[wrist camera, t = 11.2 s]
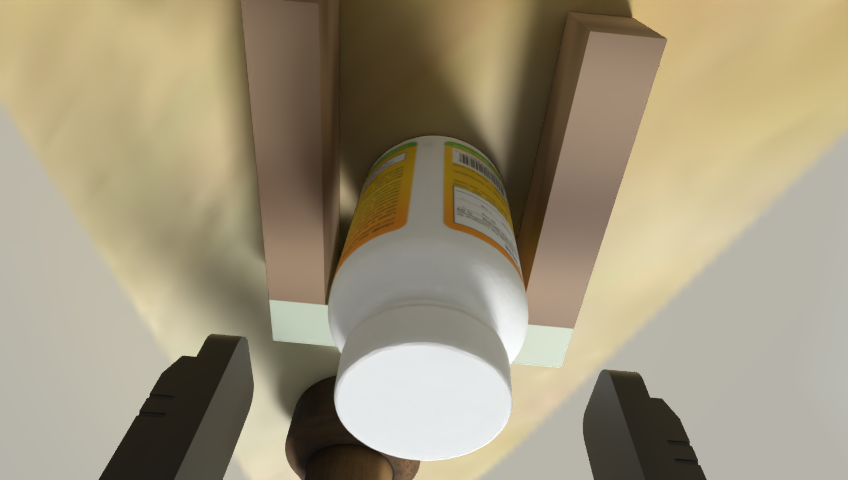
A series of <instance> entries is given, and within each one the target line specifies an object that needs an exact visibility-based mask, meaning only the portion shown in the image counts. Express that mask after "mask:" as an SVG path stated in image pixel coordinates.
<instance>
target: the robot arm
mask: <svg viewBox="0 0 848 480" xmlns="http://www.w3.org/2000/svg"><path fill="white" fill-rule="evenodd" d="M253 389H254V382H253V375H252V368H251V361H250V354H249V347H248V341H247V339H246V337H241V336H229V335H218V334H211V335H209V336H208V337H207V339H206V340H205V342H204V344H203V346H202V348H201V349H200V351H199V353H198V355H197V357H191V356H182V357H180V358H179V359H178V360H177V361H176V362H175V363H173V364H172V365H171V366H170V367H169V368H168V369H167V370H165V371H164V372H163V373H162V374H161V376H160V378H159V380H158V381H157V383H156V384H155V386H154V388H153V389H152V391H151V393H150V397H149V398H147V399H146V401H145V403H144V404H143V406H142V408H141V409H140V413H139V415H138V416H136V418H135V419H134V421H133V423H132V425H131V426H130V428H129V430H128V431H127V433H126V435H125V436H124V438H123V440H122V442H121V443H120V445H119V446H118V448H117V450H116V451H115V453H114V455H113V456H112V458H111V460H110V461H109V463H108V465H107V466H106V468H105V470H104V471H103V473H102V475H101V477H100V478H99V480H223V477H224V475H225V472H226V470H227V467H228V464H229V462H230V459H231V457H232V454H233V451H234V449H235V446H236V444H237V441H238V438H239V436H240V433H241V431H242V428H243V425H244V423H245V420H246V418H247V415H248V412H249V410H250V406H251V403H252V398H253ZM583 435H584V441H585V445H586V449H587V453H588V457H589V461H590V465H591V469H592V473H593V477H594V480H706V478H705V475H704V473H703V470H702V468H701V466H700V465H698V459H697V457H696V455H695V452H694V450H693V448H692V446H690V441H689V439H688V437H687V434H686V432H685V430H684V427H683V425H682V423H681V421H680V419H679V418H678V416H677V415H676V414H675V413H674V412H673V411H672V410H671V409H670V407H669V406H668V405H667V404H666V403H665V402H664V401H663V400H662V399H659V398H650V396H649V394H648V391H647V389H646V386H645V384H644V381H643V379H642V377H641V376H640V374H639V373H637V372H627V371H615V370H602V371H601V373H600V374H599V377H598V380H597V382H596V385H595V387H594V390H593V392H592V395H591V397H590V400H589V403H588V405H587V408H586V410H585V413H584V419H583Z"/></svg>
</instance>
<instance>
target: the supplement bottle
mask: <svg viewBox="0 0 848 480" xmlns="http://www.w3.org/2000/svg"><path fill="white" fill-rule="evenodd" d="M328 322H329V327H330V332H331V335H332V338H333V340H334V342H335V344H336V346H337V348H338V350H339V351H340V353H341V357H340V362H339V367H338V372H337V377H336V382H335V388H334V404H335V408H336V411H337V414H338V416H339V418H340V421H341V422H342V423H343V425H344V426H345V428H346V429H347V430H348V431H349V432H350V433H351V434H352V435H353V436H354V437H356V438H357V439H358V440H360V441H361V442H363V443H364V444H366V445H367V446H369V447H371V448H373V449H375V450H377V451H380V452H383V453H385V454H388V455H391V456H395V457H399V458H404V459H410V460H421V461H430V460H444V459H450V458H454V457H459V456H462V455H465V454H468V453H471V452H473V451H475V450H477V449H479V448H481V447H483V446H485V445H486V444H488V443H489V442H491V441H492V440H493V439H494V438H495V437H496V436H497V435H498V434H499V433H500V432H501V431H502V429H503V428H504V427H505V425H506V423H507V421H508V419H509V417H510V413H511V410H512V388H511V377H510V365H511V363H512V362H513V361H514V359H515V358H516V356H517V355H518V353H519V351H520V350H521V347H522V345H523V343H524V340H525V337H526V333H527V327H528V305H527V297H526V291H525V286H524V281H523V276H522V271H521V266H520V261H519V256H518V251H517V246H516V241H515V235H514V230H513V225H512V220H511V215H510V210H509V205H508V199H507V195H506V191H505V187H504V184H503V181H502V179H501V176H500V175H499V173H498V171H497V169H496V168H495V166H494V165H493V164H492V162H491V161H490V160H489V159H488V158H487V157H486V156H485V155H484V154H483V153H482V152H480V151H479V150H478V149H476V148H475V147H473V146H472V145H470V144H468V143H466V142H463V141H461V140H458V139H455V138H451V137H445V136H422V137H417V138H413V139H409V140H406V141H404V142H402V143H400V144H398V145H396V146H394V147H392V148H391V149H389V150H388V151H386V152H385V153H384V154H383V155H382V156H381V157H380V158H379V159H378V160H377V161H376V162H375V163H374V165H373V166H372V167H371V169H370V171H369V173H368V175H367V176H366V179H365V181H364V184H363V187H362V190H361V193H360V196H359V200H358V203H357V206H356V209H355V213H354V216H353V219H352V222H351V226H350V229H349V232H348V235H347V239H346V242H345V245H344V248H343V251H342V255H341V258H340V261H339V264H338V267H337V270H336V274H335V277H334V281H333V284H332V287H331V293H330V296H329V303H328Z"/></svg>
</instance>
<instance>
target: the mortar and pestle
mask: <svg viewBox="0 0 848 480" xmlns="http://www.w3.org/2000/svg"><path fill="white" fill-rule="evenodd" d="M335 382H336V377H332V378H328V379H325V380H322V381H320V382H318V383H316V384H315V385H313V386H311V387H310V388H309V389H307V390H306V391H305V392H304V393H303V395H302V396H301V397H300V399H299V401H298V403H297V405H296V408H295V411H294V414H293V418H292V421H291V425H290V428H289V431H288V435H287V439H286V444H285V452H286V457H287V460H288V462H289V464H290V466H291V468H292V469H293V470H294V472H295V473H296V474H297V475H298V476H299V477H300V479H301V480H412V479H413V478H414V477H415V475H416V473H417V471H418V469H419V465H420V460H410V459H404V458H399V457H395V456H391V455H388V454H385V453H383V452H380V451H377V450H375V449H373V448H371V447H369V446H367V445H366V444H364V443H363V442H361V441H360V440H358V439H357V438H356V437H354V436H353V435H352V434H351V433H350V432H349V431H348V430H347V429H346V428H345V426H344V425H343V423H342V422H341V421H340V418H339V416H338V414H337V411H336V408H335V404H334V388H335Z"/></svg>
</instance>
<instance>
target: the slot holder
mask: <svg viewBox="0 0 848 480" xmlns="http://www.w3.org/2000/svg"><path fill="white" fill-rule="evenodd" d="M241 10H242V20H243V31H244V41H245V52H246V62H247V73H248V83H249V94H250V104H251V114H252V125H253V135H254V146H255V156H256V167H257V177H258V188H259V198H260V209H261V219H262V230H263V240H264V250H265V261H266V271H267V282H268V292H269V303H270V313H271V324H272V334H273V341H282V342H293V343H303V344H314V345H325V346H335V347H337V346H336V344H335V342H334V340H333V338H332V335H331V332H330V327H329V322H328V303H329V296H330V293H331V287H332V284H333V281H334V277H335V274H336V270H337V267H338V264H339V261H340V0H241ZM666 42H667V39H666V38H665V37H663V36H661V35H660V34H658V33H657V32H655V31H653V30H652V29H650V28H649V27H647V26H645V25H644V24H642V23H641V22H639V21H637V20H636V19H634V18H629V17H619V16H609V15H599V14H589V13H579V12H569V11H568V15H567V19H566V24H565V28H564V33H563V38H562V42H561V47H560V51H559V56H558V60H557V65H556V69H555V74H554V79H553V83H552V88H551V92H550V97H549V101H548V106H547V111H546V115H545V120H544V124H543V129H542V133H541V138H540V142H539V147H538V152H537V156H536V161H535V165H534V170H533V174H532V179H531V183H530V188H529V193H528V197H527V202H526V206H525V211H524V215H523V220H522V225H521V229H520V234H519V238H518V243H517V251H518V256H519V261H520V266H521V271H522V276H523V281H524V286H525V291H526V297H527V305H528V327H527V333H526V337H525V340H524V343H523V345H522V347H521V350H520V351H519V353H518V355H517V356H516V358H515V359H514V361H513V362H512V363H515V364H525V365H536V366H546V367H557V368H561V366H562V363H563V360H564V357H565V354H566V351H567V348H568V345H569V342H570V339H571V336H572V332H573V329H574V326H575V323H576V320H577V317H578V314H579V311H580V308H581V305H582V302H583V298H584V295H585V292H586V289H587V286H588V283H589V280H590V277H591V274H592V271H593V268H594V264H595V261H596V258H597V255H598V252H599V249H600V246H601V243H602V240H603V237H604V233H605V230H606V227H607V224H608V221H609V218H610V215H611V212H612V209H613V206H614V203H615V199H616V196H617V193H618V190H619V187H620V184H621V181H622V178H623V175H624V172H625V169H626V165H627V162H628V159H629V156H630V153H631V150H632V147H633V144H634V141H635V138H636V135H637V131H638V128H639V125H640V122H641V119H642V116H643V113H644V110H645V107H646V104H647V101H648V97H649V94H650V91H651V88H652V85H653V82H654V79H655V76H656V73H657V70H658V67H659V63H660V60H661V57H662V54H663V51H664V48H665V45H666Z"/></svg>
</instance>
